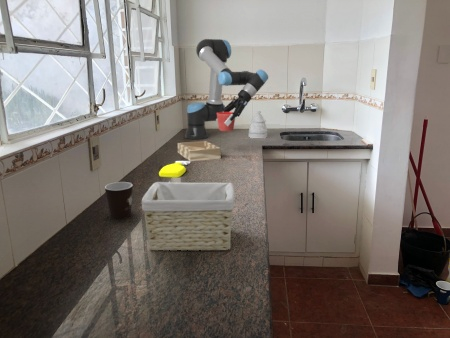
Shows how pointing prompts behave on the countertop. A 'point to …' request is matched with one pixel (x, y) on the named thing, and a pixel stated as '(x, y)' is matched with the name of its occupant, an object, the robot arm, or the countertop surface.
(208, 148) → the pine crate
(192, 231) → the storage basket
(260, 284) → the countertop surface
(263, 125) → the honey pot
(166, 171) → the spray bottle
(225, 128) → the flower pot
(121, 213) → the coffee mug
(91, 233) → the countertop surface
